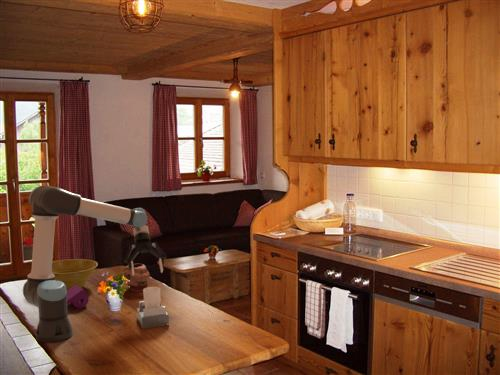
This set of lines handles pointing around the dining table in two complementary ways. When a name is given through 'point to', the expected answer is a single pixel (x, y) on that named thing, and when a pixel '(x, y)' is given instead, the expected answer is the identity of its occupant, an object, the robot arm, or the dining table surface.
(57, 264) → the planter bowl
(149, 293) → the white cup
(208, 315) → the dining table surface
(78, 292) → the purple elongated rounded piece
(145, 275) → the decorative planter
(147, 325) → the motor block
